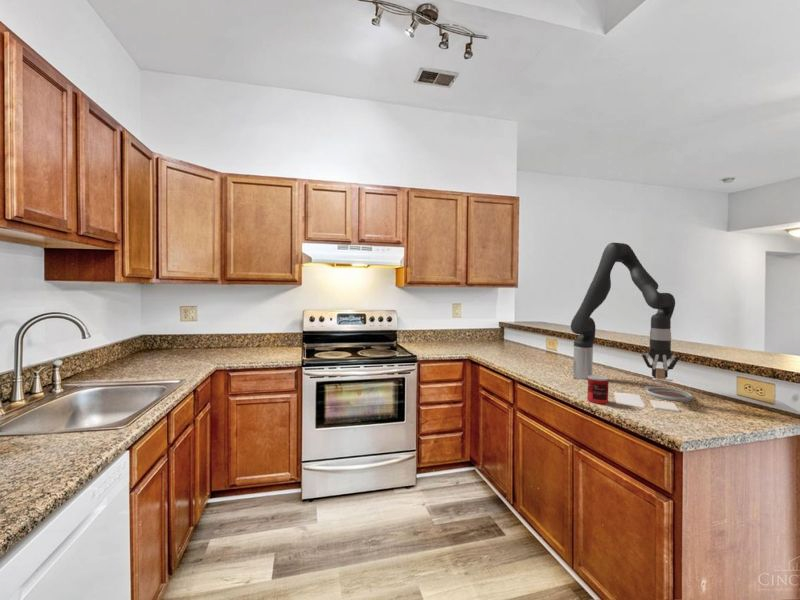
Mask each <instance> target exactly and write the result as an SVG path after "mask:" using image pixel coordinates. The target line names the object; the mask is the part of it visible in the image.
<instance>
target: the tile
mask: <svg viewBox="0 0 800 600" xmlns="http://www.w3.org/2000/svg"><path fill="white" fill-rule="evenodd" d="M649 400H650V401H649V402H650V403H651V406H652V408H653V409H654V410H659V411H660V410H661V411H667V412H677V413H680V409H679V408H678V406H677V405H676V404H675V403H674V402H672V401H671V402H670V401H665V400H664V401H663V400H662V401H661V400H656V399H655V400H654V399H649Z"/></svg>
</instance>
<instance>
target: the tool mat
mask: <svg viewBox="0 0 800 600" xmlns="http://www.w3.org/2000/svg"><path fill="white" fill-rule="evenodd" d="M613 395H614V399H615V402H616V404H617V405H624V406H631V407H641V408H646V406H645V404H644V401H643V400H642V398H641V395H640V394H634V393H628V392H627V393H626V392H616V391H613Z"/></svg>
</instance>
